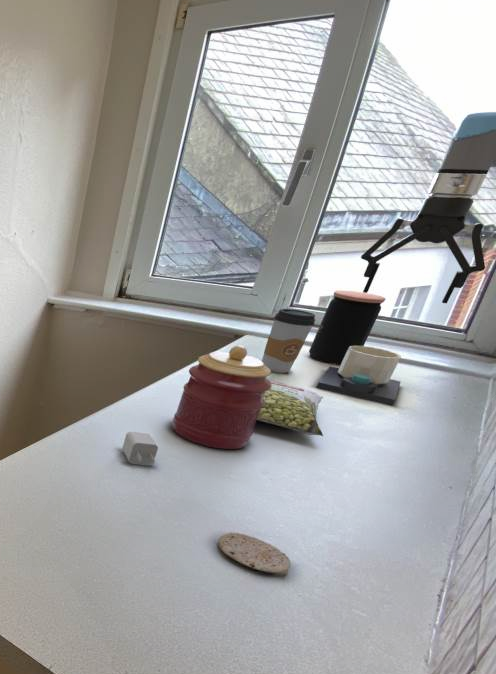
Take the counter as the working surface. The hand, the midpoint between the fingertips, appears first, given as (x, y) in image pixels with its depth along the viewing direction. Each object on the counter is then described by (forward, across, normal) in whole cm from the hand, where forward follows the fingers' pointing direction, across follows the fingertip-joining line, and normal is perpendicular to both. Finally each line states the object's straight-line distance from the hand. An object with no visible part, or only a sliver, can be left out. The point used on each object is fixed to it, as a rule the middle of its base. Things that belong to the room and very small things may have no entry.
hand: (403, 297), depth 125 cm
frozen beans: (+21, -14, -43) cm, 50 cm away
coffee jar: (+22, -9, +19) cm, 30 cm away
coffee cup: (+21, -18, -5) cm, 28 cm away
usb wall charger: (+21, -23, -86) cm, 91 cm away
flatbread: (+21, -3, -101) cm, 103 cm away
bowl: (+20, -1, -1) cm, 20 cm away
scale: (+22, -1, -4) cm, 22 cm away
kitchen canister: (+21, -18, -64) cm, 69 cm away
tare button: (+19, -1, -10) cm, 21 cm away
